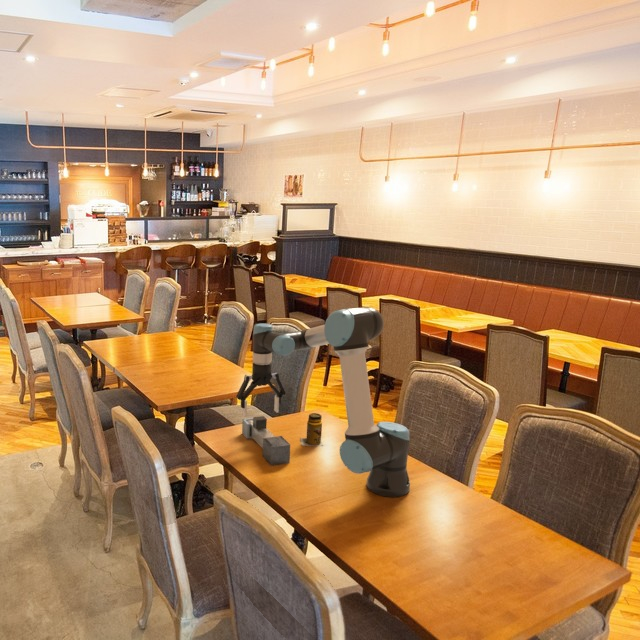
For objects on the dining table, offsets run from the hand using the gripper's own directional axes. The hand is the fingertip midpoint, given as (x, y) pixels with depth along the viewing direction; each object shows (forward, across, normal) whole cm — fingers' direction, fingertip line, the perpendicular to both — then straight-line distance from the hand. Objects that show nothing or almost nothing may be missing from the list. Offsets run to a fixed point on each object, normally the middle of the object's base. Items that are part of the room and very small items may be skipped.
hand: (260, 413), depth 239 cm
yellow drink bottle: (+13, -20, +7) cm, 25 cm away
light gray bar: (+11, 0, +2) cm, 11 cm away
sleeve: (+12, 0, +17) cm, 21 cm away
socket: (+12, 0, -7) cm, 14 cm away
